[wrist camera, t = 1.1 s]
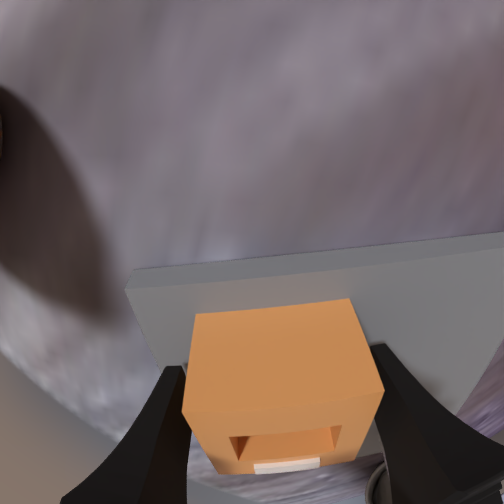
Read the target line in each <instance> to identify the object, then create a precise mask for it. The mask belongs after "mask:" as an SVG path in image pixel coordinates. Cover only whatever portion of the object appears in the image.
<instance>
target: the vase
mask: <svg viewBox="0 0 504 504" xmlns="http://www.w3.org/2000/svg"><path fill="white" fill-rule="evenodd" d="M1 152H2V121H1V115H0V159H1Z"/></svg>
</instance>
